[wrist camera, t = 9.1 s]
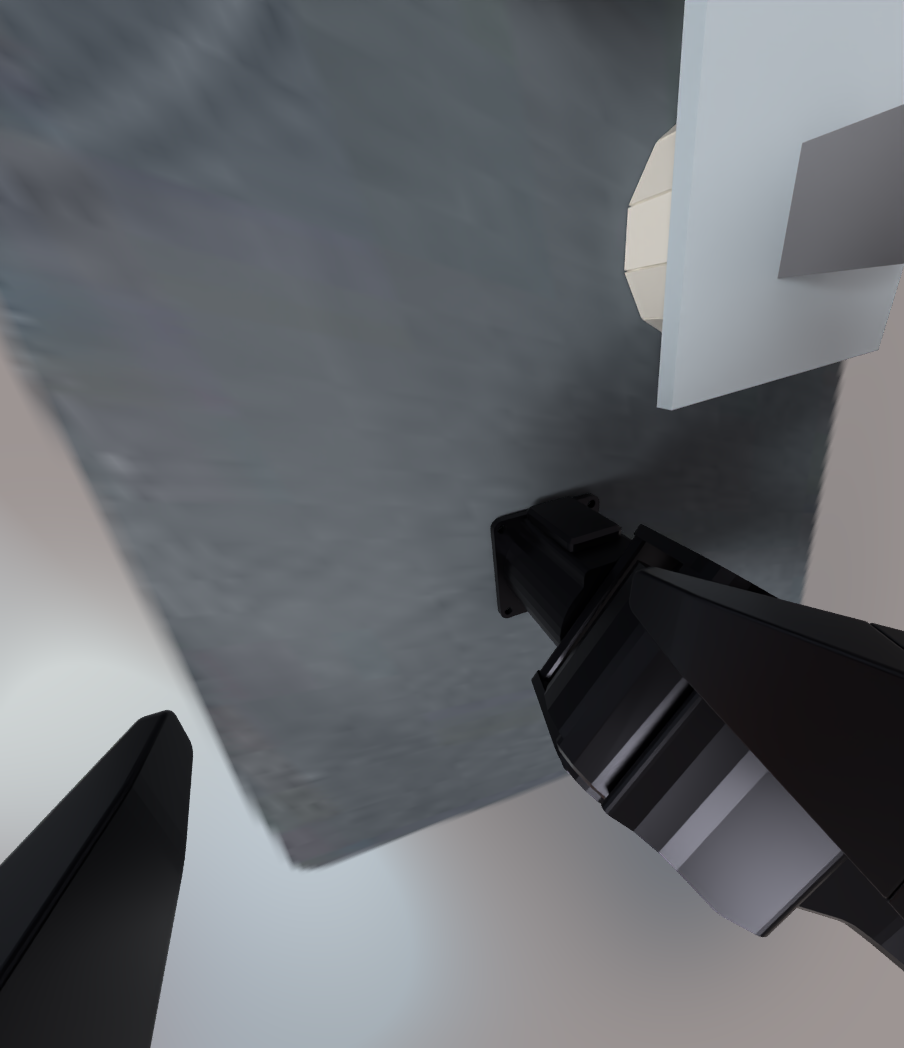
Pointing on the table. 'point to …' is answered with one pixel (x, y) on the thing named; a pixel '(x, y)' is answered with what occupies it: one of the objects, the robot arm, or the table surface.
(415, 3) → the table surface
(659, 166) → the bowl
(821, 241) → the lid
